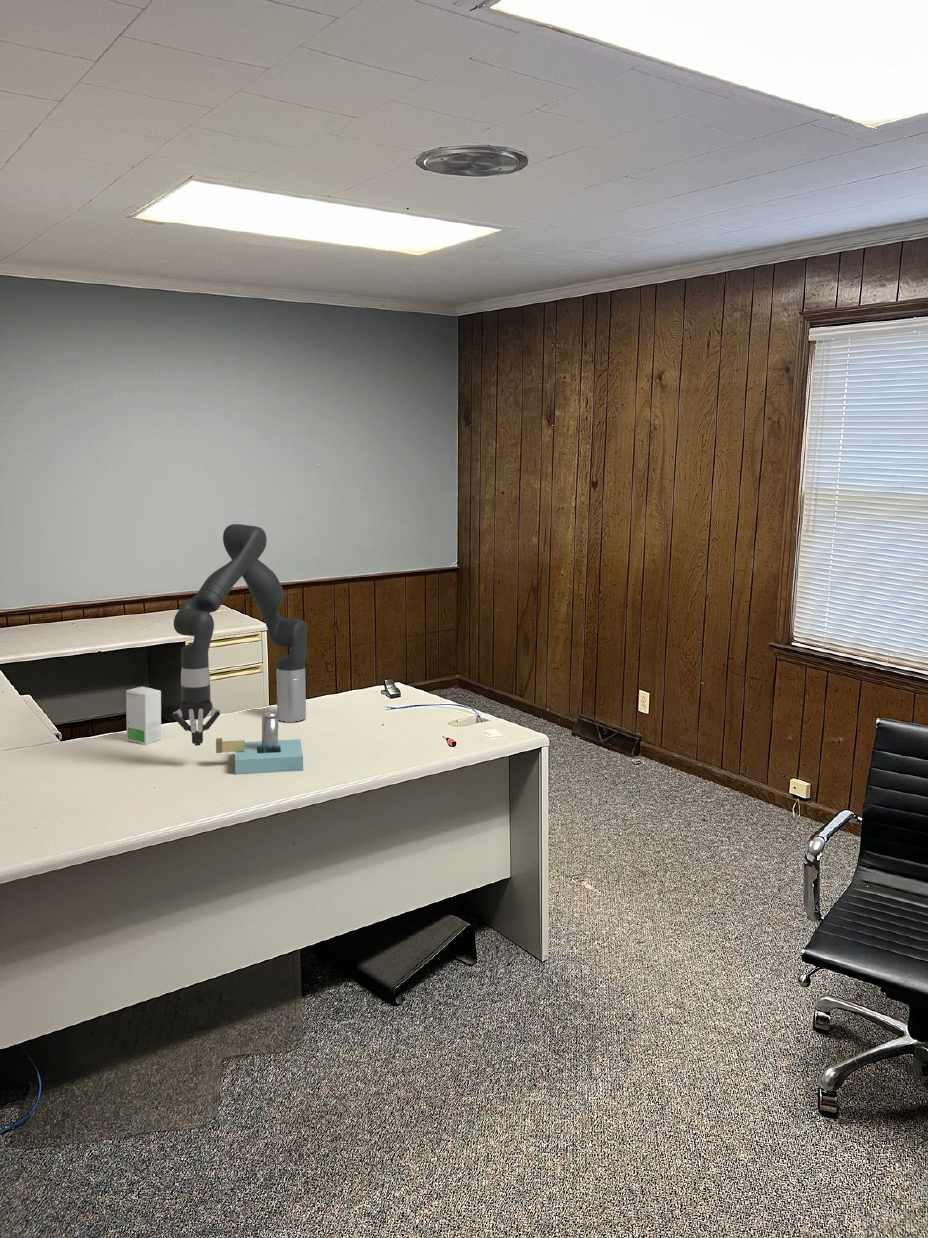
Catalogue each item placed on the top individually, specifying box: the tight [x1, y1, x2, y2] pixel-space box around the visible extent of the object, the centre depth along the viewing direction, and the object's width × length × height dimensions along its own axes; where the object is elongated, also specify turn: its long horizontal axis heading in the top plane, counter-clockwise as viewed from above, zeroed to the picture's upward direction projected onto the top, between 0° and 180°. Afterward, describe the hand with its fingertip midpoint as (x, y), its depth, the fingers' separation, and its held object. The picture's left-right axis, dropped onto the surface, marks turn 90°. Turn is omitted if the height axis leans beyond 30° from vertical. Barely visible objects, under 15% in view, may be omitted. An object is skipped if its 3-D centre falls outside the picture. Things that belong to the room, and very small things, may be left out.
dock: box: [234, 738, 304, 775], centre depth 253 cm, size 16×18×4 cm
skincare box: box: [125, 686, 162, 746], centre depth 271 cm, size 8×7×16 cm
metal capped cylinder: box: [261, 711, 279, 753], centre depth 252 cm, size 4×4×13 cm
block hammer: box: [215, 737, 246, 754], centre depth 250 cm, size 3×8×3 cm, turn 103°
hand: (197, 744), depth 248 cm, fingers closed
